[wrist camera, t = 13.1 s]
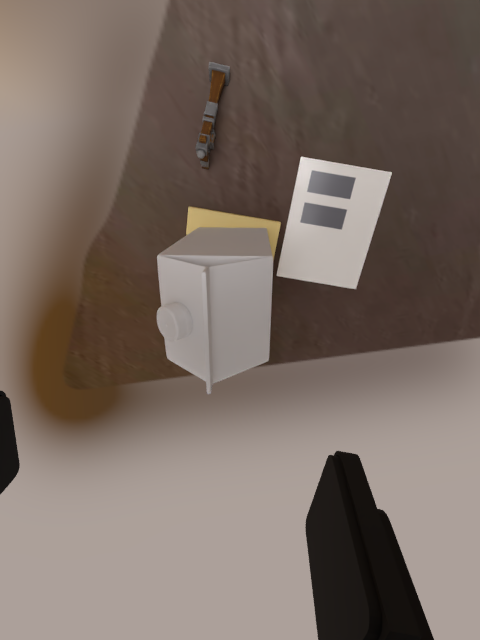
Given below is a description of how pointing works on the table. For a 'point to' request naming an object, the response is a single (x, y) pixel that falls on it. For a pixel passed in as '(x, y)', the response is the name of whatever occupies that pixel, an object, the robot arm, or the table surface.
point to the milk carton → (216, 301)
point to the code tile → (331, 222)
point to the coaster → (231, 222)
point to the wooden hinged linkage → (211, 111)
